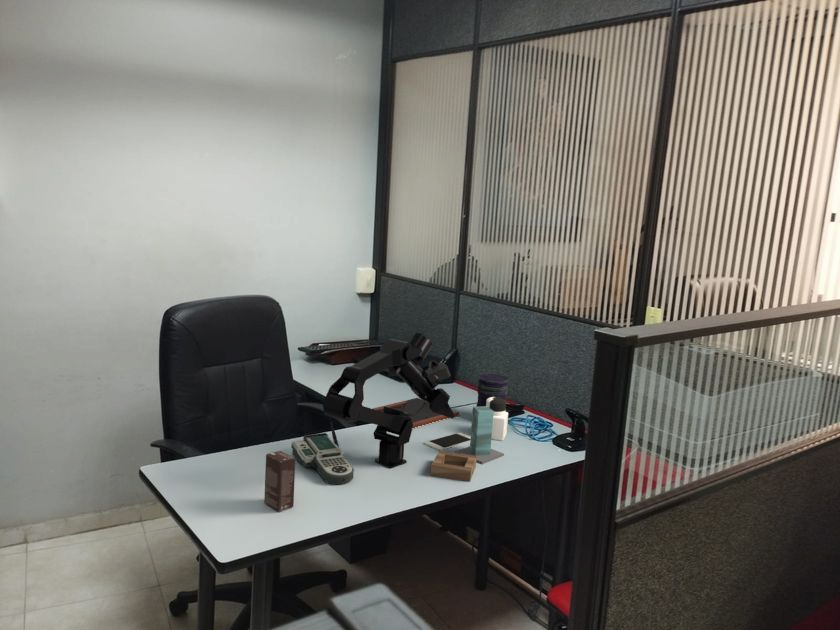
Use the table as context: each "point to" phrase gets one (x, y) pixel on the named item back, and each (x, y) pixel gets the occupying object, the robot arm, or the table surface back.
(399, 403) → the picture frame
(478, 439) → the peg
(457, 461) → the pocket block
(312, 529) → the table surface
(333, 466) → the communication device
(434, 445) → the smartphone
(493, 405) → the medicine bottle
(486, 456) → the mat
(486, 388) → the storage jar
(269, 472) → the box
